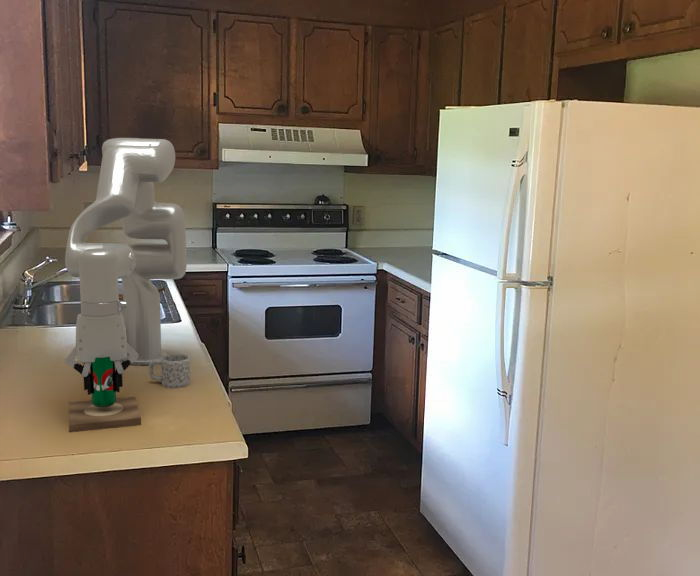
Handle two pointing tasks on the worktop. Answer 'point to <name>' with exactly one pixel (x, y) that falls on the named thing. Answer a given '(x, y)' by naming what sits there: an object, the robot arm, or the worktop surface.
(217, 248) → the worktop surface
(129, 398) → the board
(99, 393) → the soda can
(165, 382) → the mug
